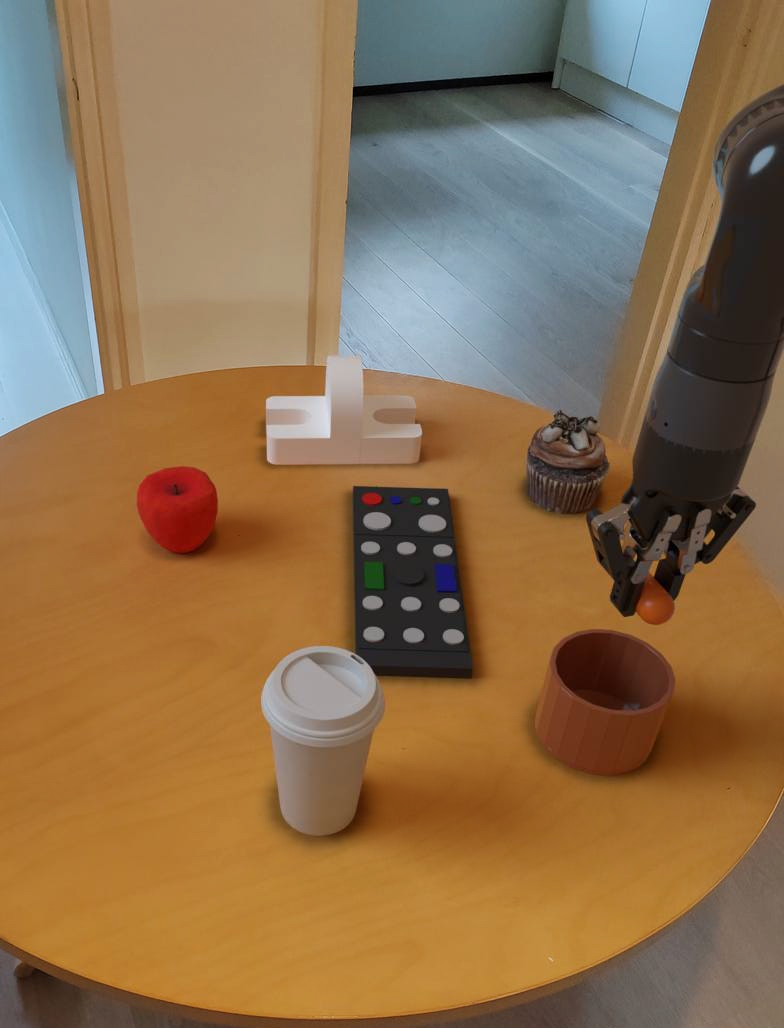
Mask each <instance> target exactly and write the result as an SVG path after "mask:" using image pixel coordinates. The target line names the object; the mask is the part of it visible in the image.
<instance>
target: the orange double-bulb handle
mask: <svg viewBox="0 0 784 1028" xmlns="http://www.w3.org/2000/svg"><path fill="white" fill-rule="evenodd" d="M643 581H644V582H645V584H644V587H643V590H642V593H641V596H640V599H639V602H638V604H637V607H636V612H635V614H637V615H638V617H639V618H640V619H641V620H642V621H644V622H645V623H646V624H649V625H653V626H659V625H664V624H666V623H667V622H668V621H670V620H671V618H672V617H673V615H674V613H675V609H676V608H675V606H676V605H675V601H673V599H672V597H671V596H670V595H669V594H668V592H667V591H666V590H665V589H664V588H663V587H662V586H661V585H660V583H659V582H658V581H657V580H656V579H655V578H654V575H652V573H651V572H650V570H649V571H648V573H647V575H646V577H645V579H644V580H643Z"/></svg>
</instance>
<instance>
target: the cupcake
mask: <svg viewBox="0 0 784 1028" xmlns="http://www.w3.org/2000/svg"><path fill="white" fill-rule="evenodd" d="M600 430H601V424H600V422H598V419H595V418H594V417H593V416H592V415H589V416H588V417H587V416H586V417H583V418H580V419H579V417H577V416H569V415H567V414H565V413H564V412H563V410H562V409H559V410H557V411H555V414H553V418H552V420H551V422H550V423H548V424H545V425H542V426H541V427H539V428H538V429H536V430H535V432H534V433H533V436H532V438H531V442H530V444H529V446H528V448H527V452H526V461H525V463H526V493H527V495H528V497H529V499H530V501H531V502H532V503H534V504H535V505H536V506H538V507H540V508H541V509H543V510H546V511H547V512H550V513H551V512H552V513H556V514H560V515H561V514H562V515H574V514H579V513H583V512H585V511H587V510H588V509H589V508H591V507H592V506H593V505H594V503H595V500H596V498H597V496H598V494H599V492H600V490H601V488H602V486H603V484H604V482H605V481H606V478H607V477H608V475H609V473H610V470H611V464H610V462H609V459H608V457H607V455H606V454H607V453H606V452H607V451H606V444H605V441H604V440H603V438H602V437H601V436H599V434H598V432H599V431H600Z"/></svg>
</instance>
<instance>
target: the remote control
mask: <svg viewBox="0 0 784 1028" xmlns="http://www.w3.org/2000/svg"><path fill="white" fill-rule="evenodd" d="M454 530H455V529H454V522H453V515H452V508H451V500H450V493H449V488H437V487H436V488H433V487H432V488H431V487H405V486H404V487H399V486H369V485H368V486H365V485H353V486H352V537H353V539H352V540H353V543H352V545H353V593H354V600H353V601H354V602H353V603H354V647H355V648H354V650H355V652H354V654H356V655H358V656H359V657H361V658H362V659H363V660H364V661H365V662H366V663H367V664H368V665H369V666H370V667H371V669H372V671H373V673H374V674H375V675H376V677H399V678H400V677H402V678H403V677H405V678H438V679H467V680H468V679H470V680H471V679H472V676H473V670H474V666H473V659H472V652H471V645H470V638H469V631H468V623H467V617H466V616H467V615H466V608H465V601H464V593H463V588H462V587H463V586H462V579H461V573H460V566H459V565H460V564H459V559H458V558H459V557H458V551H457V544H456V538H455V537H456V536H455V531H454Z"/></svg>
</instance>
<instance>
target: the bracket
mask: <svg viewBox="0 0 784 1028" xmlns="http://www.w3.org/2000/svg"><path fill="white" fill-rule="evenodd" d="M362 361H363V360H362V357H361V356H360V355H359V354H357V355H355V354H354V355H351V354H350V355H349V354H348V355H345V354H343V355H337V354H336V355H327V358H326V367H325V386H324V387H325V390H324V395H273V396H270V397H268V398H266V400H265V432H266V433H265V434H266V460H267V462H268V463H270V464H272V465H283V466H284V465H391V464H392V465H394V464H395V465H397V464H398V465H399V464H405V465H407V464H409V465H410V464H416V463H418V462H419V461H420V457H421V449H422V447H421V446H422V439H423V429H422V425H421V423H416V417H417V405H416V401H415V399H414V398H413V397H412V396H409V395H364V373H363V372H364V371H363V362H362Z"/></svg>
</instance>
